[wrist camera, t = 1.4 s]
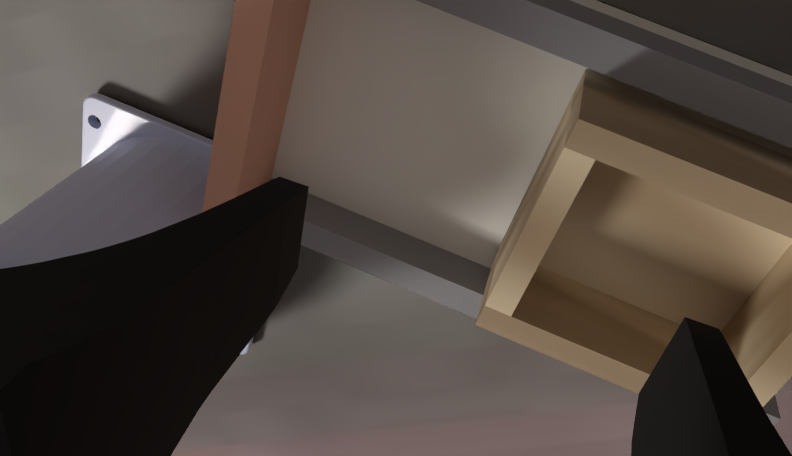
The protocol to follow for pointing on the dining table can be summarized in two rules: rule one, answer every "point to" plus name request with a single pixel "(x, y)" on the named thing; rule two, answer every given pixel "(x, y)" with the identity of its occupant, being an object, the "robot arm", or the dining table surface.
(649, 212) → the crate
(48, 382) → the robot arm
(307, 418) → the dining table surface
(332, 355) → the dining table surface
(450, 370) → the dining table surface
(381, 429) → the dining table surface
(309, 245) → the crate bay
